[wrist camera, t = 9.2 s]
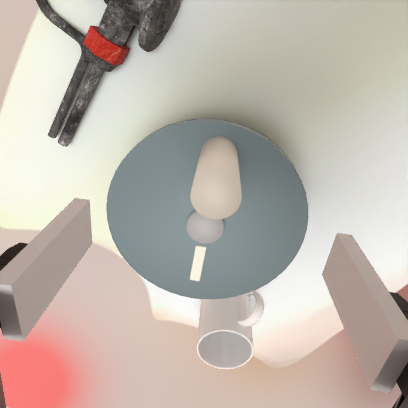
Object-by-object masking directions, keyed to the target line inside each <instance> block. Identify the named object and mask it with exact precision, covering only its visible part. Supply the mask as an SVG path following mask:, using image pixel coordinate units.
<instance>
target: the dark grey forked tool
mask: <svg viewBox="0 0 408 408" xmlns="http://www.w3.org/2000/svg"><path fill="white" fill-rule="evenodd" d="M36 1H37V3H38V5H39V7H40V9H41V11H42V12H43V14H44V15H45V16H46V17H47V18H48V19H49V20H50V21H51V22H52V23H53V24H55V25H56V26H57V27H59V28H60V29H61V30H63V31H64V32H65V33H67V34H68V35H69V36H71V37H72V38H73V39H75V40H76V41H77V42H78V43H79V45H80V46H81V50H82V54H81V57H80V60H79V62H78V64H77V67H76V69H75V72H74V74H73V76H72V79H71V81H70V83H69V86H68V88H67V90H66V93H65V95H64V98H63V100H62V102H61V105H60V107H59V109H58V112H57V114H56V117H55V119H54V121H53V124H52V126H51V128H50V131H49V133H48V136H49V137H51V138H56V136H57V133H58V131H59V129H60V127H61V124H62V122H63V120H64V117H65V115H66V113H67V111H68V108H69V106H70V104H71V102H72V99H73V97H74V95H75V92H76V90H77V88H78V86H79V83H80V81H81V79H82V76H83V74H84V72H85V70H86V67H87V65H88V63H89V62H90V63H91V64H92V66H91V68H90V70H89V72H88V75H87V77H86V79H85V81H84V84H83V86H82V88H81V90H80V92H79V95H78V97H77V99H76V101H75V104H74V106H73V108H72V110H71V113H70V115H69V117H68V119H67V122H66V124H65V126H64V128H63V131H62V133H61V135H60V137H59V140H58V143H59V144H60V145H62V146H68V144H69V142H70V140H71V138H72V136H73V133H74V131H75V129H76V127H77V125H78V123H79V121H80V118H81V116H82V114H83V112H84V110H85V108H86V106H87V104H88V101H89V99H90V97H91V95H92V93H93V91H94V89H95V86H96V84H97V82H98V80H99V78H100V76H101V74H102V72H103V71H107V72H111V71H112V70H113V69H114V68H115V67H116V66H117V65H119V64H122V63H123V61H124V59H125V57H126V55H127V52H128V50H129V48H128V47H127V46H126V45H125V44H124V43H126V40H127V38H128V36H129V34H130V32H131V30H132V28H133V26H134V25H135V26H136V27H137V28H138V29H139V31H140V32H139V39H138V42H139V46H140V47H141V48H142V49H143V50H145V51H147V52H150V51H152V50H154V49H155V48H156V47H157V46H158V45H159V44H160V43H161V42H162V40H163V39H164V37H165V35H166V33H167V32H168V30H169V28H170V26H171V24H172V23H173V21H174V19H175V17H176V15H177V12H178V9H179V3H180V0H104V1H105V3H106V4H107V5H108V6H107V8H106V10H105V13H104V15H103V17H102V20H101V22H100V25H99V27H97V26H90V28H89V30H88V33H87V35H86V38H85V37H84V36H83V35H82V34H81V33H80V32H79V31H77V30H76V29H75V28H73V27H72V26H71V25H69V24H68V23H67V22H65V21H64V20H63V19H62V18H60V17H59V16H58V15H56V14H55V13H54V12H53V11H52V10H51V8H50V7H49V6H48V4H47V2H46V0H36Z"/></svg>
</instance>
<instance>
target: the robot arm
mask: <svg viewBox="0 0 408 408" xmlns="http://www.w3.org/2000/svg"><path fill="white" fill-rule="evenodd" d="M91 244H92V233H91V216H90V200H86V199H78V198H75V199H74V200H73V201H72V202H71V203H70V204H69V205H68V206H67V207H66V208H65V209H64V210H63V211H62V212H61V213H59V214H58V215H57V216H56V217H55V218H54V219H53V220H52V221H51V222H50V223H49V224H48V225H47V226H46V227H45V228H44V229H43V230H42V231H41V232H40V233H39V234H38V235H37V236H36V237H35V238H34V239H33V240H32V241H31V242H30V243H29V244H26V243H19V244H17V245H15V246H13V247H11V248H9V249H7V250H6V251H5V252H4V253H3V254H2V255H1V256H0V328H1V330H2V334H3V338H5V339H11V340H19V341H24V339H25V338H26V337H27V335H28V334H29V332H30V331H31V330H32V328H33V327H34V325H35V324H36V322H37V321H38V320H39V318H40V317H41V315H42V314H43V312H44V311H45V310H46V308H47V307H48V305H49V304H50V302H51V301H52V300H53V298H54V297H55V295H56V294H57V293H58V291H59V290H60V288H61V287H62V285H63V284H64V283H65V281H66V280H67V278H68V277H69V276H70V274H71V273H72V271H73V270H74V268H75V267H76V266H77V264H78V263H79V261H80V260H81V258H82V257H83V256H84V254H85V253H86V251H87V250H88V248H89V247H90V246H91ZM322 275H323V278H324V280H325V283H326V285H327V287H328V290H329V292H330V295H331V297H332V300H333V302H334V305H335V307H336V309H337V312H338V314H339V317H340V319H341V322H342V324H343V326H344V329H345V331H346V334H347V336H348V338H349V341H350V343H351V346H352V348H353V351H354V353H355V356H356V358H357V360H358V363H359V365H360V368H361V370H362V372H363V375H364V377H365V380H366V382H367V384H368V387H369V389H370V390H375V391H382V392H389V393H390V392H391V390H392V389H393V387H394V386H395V384H396V382H397V384H398V386H399V388H400V390H401V392H402V393H401V395H400V397H399V398H398V400H397V401H396V403H395V404H394V406H393V407H392V408H408V302H407V301H406V300H405V299H403V298H402V297H401V296H399V294H397V293H392V292H389V291H388V290H387V288H386V287H385V285H384V284H383V282H382V281H381V279H380V278H379V276H378V275H377V273H376V271H375V270H374V268H373V267H372V265H371V264H370V262H369V261H368V259H367V258H366V256H365V255H364V253H363V252H362V250H361V249H360V247H359V246H358V244H357V242H356V241H355V239H354V238H353V236H352V235H347V234H340V233H337V235H336V237H335V240H334V243H333V246H332V248H331V251H330V254H329V257H328V260H327V262H326V265H325V268H324V271H323V273H322ZM0 408H6V404H5V398H4V392H3V386H2V380H1V375H0Z"/></svg>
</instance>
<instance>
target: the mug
mask: <svg viewBox="0 0 408 408" xmlns="http://www.w3.org/2000/svg"><path fill="white" fill-rule="evenodd" d="M248 295H254V297H255V301H256V304H255V308H254V311H253V313H252V314H251V315H250V307H249V296H248ZM263 310H264V303H263V299H262V297H261V295H260V294H259V293H258V292H256V291H251V292H249V293H246V294H243V295H240V296H236V297H230V298H225V299H201V308H200V318H199V328H198V338H197V353H198V355H199V357H200V358H201V359H202V361H204V362H205V363H207V364H208V365H210V366H213V367H216V368H220V369H232V368H237V367H240V366H242V365H244V364H245V363H247V362H248V361H249V360H250V359H251V357H252V355H253V339H252V328H251V326H252V325H254V324H255V323H257V322H258V321H259V319H260V318H261V316H262V314H263Z"/></svg>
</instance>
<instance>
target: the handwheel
mask: <svg viewBox="0 0 408 408" xmlns="http://www.w3.org/2000/svg"><path fill="white" fill-rule="evenodd" d="M107 219H108V224H109V229H110V232H111V235H112V238H113V240H114V242H115V244H116V246H117V248H118V250H119V251H120V253H121V254H122V256H123V257H124V259H125V260H126V261H127V262H128V264H129V265H130V266H131V267H132V268H133V269H134V270H135V271H136V272H137V273H139V274H140V275H141V276H142V277H144V278H145V279H146V280H148V281H149V282H151V283H153V284H154V285H156V286H158V287H160V288H162V289H164V290H166V291H169V292H172V293H175V294H178V295H181V296H185V297H190V298H197V299H225V298H230V297H236V296H240V295H243V294H246V293H249V292H251V291H254V290H256V289H259V288H260V287H262V286H264V285H266V284H268V283H269V282H270V281H272V280H273V279H275V278H276V277H277V276H278V275H279V274H281V273H282V272H283V271H284V270H285V269H286V268H287V267H288V265H289V264H290V263H291V262H292V261H293V259H294V257H295V256H296V254H297V253H298V251H299V249H300V247H301V245H302V242H303V240H304V237H305V233H306V230H307V223H308V204H307V198H306V193H305V190H304V187H303V184H302V181H301V180H300V178H299V176H298V174H297V172H296V170H295V168H294V167H293V165H292V163H291V162H290V161H289V159H288V158H287V157H286V155H285V154H284V153H283V152H282V151H281V150H280V149H279V148H278V147H277V146H276V145H275V144H274V143H273V142H271V141H270V140H269V139H267V138H266V137H265V136H263V135H261V134H260V133H258V132H256V131H254V130H253V129H250V128H248V127H245V126H243V125H240V124H237V123H233V122H229V121H225V120H217V119H193V120H187V121H181V122H178V123H174V124H171V125H168V126H166V127H164V128H161V129H159V130H157V131H155V132H154V133H152V134H150V135H149V136H147V137H146V138H144V139H143V140H142V141H141V142H140V143H139V144H137V145H136V146H135V147H134V148H133V149H132V150H131V151H130V152H129V154H128V155H127V156H126V157H125V158H124V159H123V161H122V162H121V164H120V165H119V167H118V169H117V170H116V172H115V174H114V176H113V179H112V181H111V184H110V188H109V192H108V197H107Z"/></svg>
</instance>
